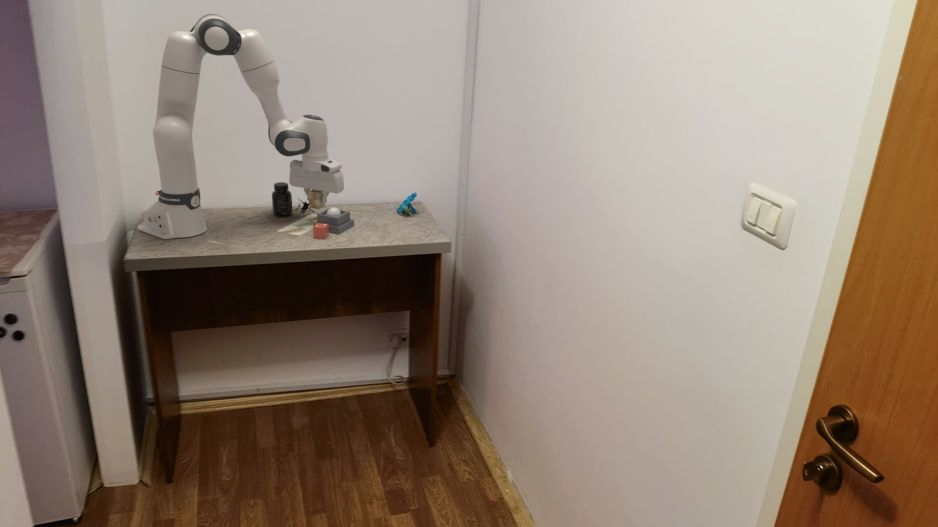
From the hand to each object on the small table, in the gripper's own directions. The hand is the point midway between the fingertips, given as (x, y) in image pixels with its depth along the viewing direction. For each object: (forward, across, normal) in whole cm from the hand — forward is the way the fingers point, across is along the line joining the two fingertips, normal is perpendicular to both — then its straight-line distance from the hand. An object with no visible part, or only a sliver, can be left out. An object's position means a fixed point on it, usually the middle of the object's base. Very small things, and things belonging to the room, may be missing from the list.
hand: (317, 201), depth 250 cm
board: (+7, +5, -7) cm, 11 cm away
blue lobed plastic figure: (+8, +23, +24) cm, 34 cm away
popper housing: (+7, +10, -5) cm, 13 cm away
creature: (+7, -8, +4) cm, 12 cm away
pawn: (+2, 0, 0) cm, 2 cm away
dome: (+4, +10, -5) cm, 12 cm away
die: (+6, +11, -15) cm, 19 cm away
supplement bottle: (+7, -13, -2) cm, 15 cm away
